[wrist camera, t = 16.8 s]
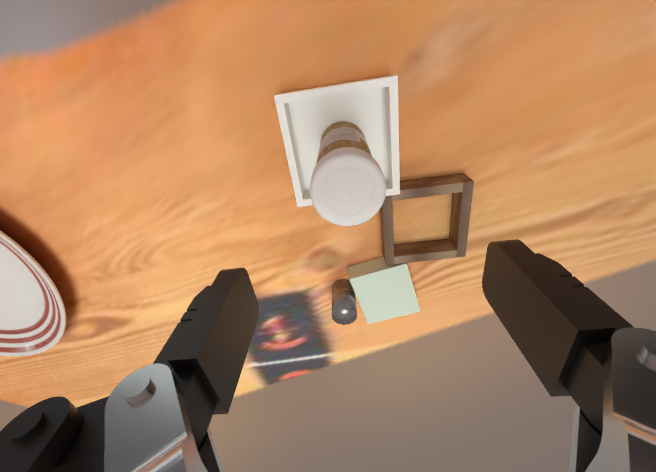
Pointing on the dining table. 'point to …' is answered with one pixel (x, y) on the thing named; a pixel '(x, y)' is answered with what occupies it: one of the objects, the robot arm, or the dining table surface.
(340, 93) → the tray
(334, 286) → the cylinder
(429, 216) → the dining table surface
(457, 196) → the socket block
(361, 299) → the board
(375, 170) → the sprinkles bottle
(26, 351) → the dinner plate
